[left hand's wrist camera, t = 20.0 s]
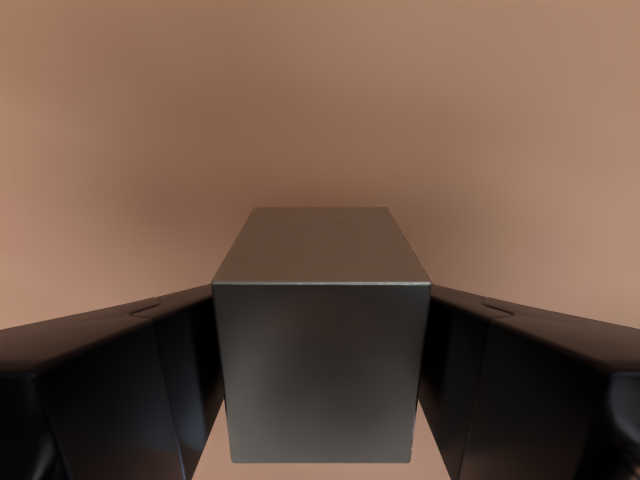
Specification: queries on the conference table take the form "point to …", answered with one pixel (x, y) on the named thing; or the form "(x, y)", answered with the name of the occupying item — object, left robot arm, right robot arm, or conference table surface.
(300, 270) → the grey metal block
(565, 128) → the conference table surface
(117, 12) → the conference table surface
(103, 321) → the left robot arm
